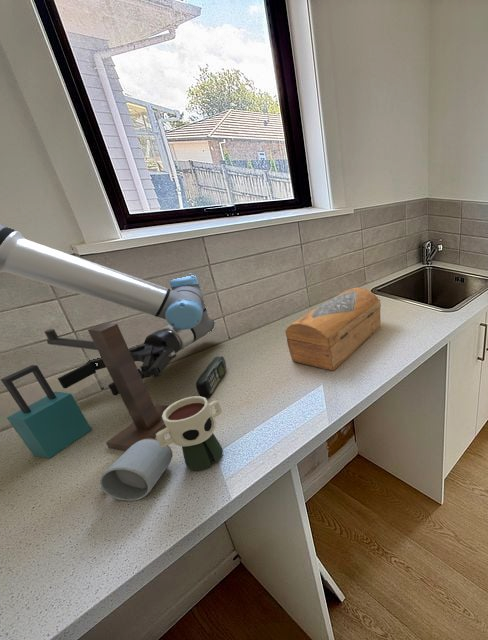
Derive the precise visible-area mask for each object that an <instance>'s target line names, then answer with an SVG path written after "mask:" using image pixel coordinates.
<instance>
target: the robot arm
mask: <svg viewBox="0 0 488 640" xmlns="http://www.w3.org/2000/svg"><path fill="white" fill-rule="evenodd" d="M13 231H14V232H13ZM3 241H4V242H3ZM1 273H8V274H11V275H15V276H17V277H21V278H25V279H27V280H31V281H35V282H38V283H41V284H45V285H48V286H52V287H55V288H58V289H62V290H64V291H68V292H72V293H75V294H78V295H81V296H86V297H89V298H92V299H96V300H99V301H102V302H105V303H109V304H113V305H116V306H120V307H123V308H126V309H128V310H132V311H137V312H140V313H144V314H147V315H150V316H153V317H156V318H160V319H163V320H166V322H167V325H168V326H167V325H166V326H163V327H162V328H160V329H161V330H160V329H158V330H156V331H153V332H152V333H150V334H148V335H147V336H145V339H144V342H143V343H141V344H138V345H136V346H135V347H133V348H130V349H129V351H130V353H131V356H132V358H133V360H134V362H135V363H136V362H141V363H142V365H140V366H139V367H140V368H137V369H138V371H139V373H140V376H141V378H142V380H144V379H149V378H151V377H154V378H158V377H160V376H161V375H162V374H163V372H164V371H165V369H166V368H167V366H168V365H169V364H170V362H171V361H172V360H174V359H175V358H176V357H177V353H178V352H179V351H182V350H184V349H185V348H187V347H188V346H189V345H191V344H193V343H195V342H197V341H198V340H200V339H202V338H203V337H205V336H207V335H208V334H207V333H208V332H210V331H211V332H213V331H212V329H213V328H214V325H215V322H214V320H212V319H210V318H209V317H208V314H207V310H206V308H205V306H206V303H205V304H204V302H205V299H204V300H203V298H204V296H202V295H203V291H202V289H200V288H201V283H200V282H199V280H197V279H198V277H197V276H196V275H195V274H194V275H195V276H194V275H191V276H186V277H182V278H177V279H173V280H171V281H170V285H171V288H172V290H170V289H168V288H167V287H164V286H162V285H160V284H156V283H153V282H150V281H148V280H146V279H142V278H139V277H136V276H133V275H131V274H128V273H124V272H122V271H119V270H116V269H114V268H110V267H108V266H104V265H102V264H99V263H96V262H93V261H91V260H87V259H85V258H82V257H78V256H76V255H73V254H70V253H67V252H65V251H61V250H58V249H56V248H53V247H50V246H47V245H44V244H41V243H39V242H35V241H33V240H31V239H27V238H25V236H24V237H23V235H22V234H21V232H19V231H17V230H14V229H11V228H8V227H6V226H3V225H1V224H0V274H1ZM198 282H199V283H198ZM199 285H200V286H199ZM201 291H202V292H201ZM169 324H170V325H169ZM211 332H210V333H211ZM206 334H207V335H206ZM95 363H98V366H96V364H95ZM102 369H107V368H106V366H105V364H104V362H103V360H102V358H97V359H93V360H89V361H88V362H87V363H86V364H85V363H84V364H83V365H81V366H79V367H77V368H75V369H73V370H71V371H69V372H67V373H66V374H63V375H61V376H59V377H58V378H57V380H58V382H59V384H60V385H61V387H62V388H63V389H68V388H70V387H72V386H73V385H76V384H77V383H79V382H81V381H83V380H85V379H86V378H88V377H90V376H92V375H95V374H96V373H97V371H98V370H102ZM108 388H109V390H110V392H111V393H112V396H118V395H120V394H119V392H118V390H117V388H116V386H115V384H114V382H113V381H112V382H111V383H109V384H108Z"/></svg>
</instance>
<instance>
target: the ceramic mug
mask: <svg viewBox="0 0 488 640" xmlns="http://www.w3.org/2000/svg"><path fill="white" fill-rule="evenodd" d="M173 456H174V455H173V450H172V449H171V446H170V445H168V446H166V447H161V446H160V445H159V443H158V441H157V438H154V439H143V440H140V441H138V442H136V443H135V444H134V445H132V446H131V447H130V448H129V449H127V450H126V451H125V450H124V452H123V453H122V455H120V456H119V457H118V458H117V459H116V460H115V461H114V462H113V463H112V464H110V466H109V467H108V468H107V469H105V471H104V472H103V473H102V474H101V476H100V477H99V486H98V488H99V490H101V491H102V492H103V493H105V494H106V495H108V496H109V497H111V498H114V499H117V500H119V501H127V502H128V501H129V502H132V501H138V500H141V499H143V498H145V497H146V496H147V495H148V494H150V492H151V491H152V489H153V488H154V486H155V485H156V484H157V482H158V481H159V479H160V477H162V475H163V474H164V472H165V471H166V470H167V468H168V467H169V466H170V463H171V462H172V459H173Z"/></svg>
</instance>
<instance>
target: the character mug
mask: <svg viewBox="0 0 488 640" xmlns="http://www.w3.org/2000/svg"><path fill="white" fill-rule="evenodd" d="M167 406H168V407H167V409H166V410H165V411H164V412H163V415H162V419H163V421H164V423H165V425H166V428H164V429H163V430H161V431H159V432H158V433H157V434H156V437H155V439H157V441H158V443H159V445H160V446H161V447H166V446H170V445H171V444H175V445H177V446H179V447H181V449H182V455H183V459H184V462H185V465H186V468H188V469H190V470H192V471H202V470H205V469H207V468H210V467H211V466H212V463H211V461H212V460H213V459H214V462H215V463H217V462H218V461H219V460H220V459H221V458H222V456H223V452H224V449H223V447H222V445H221V443H220V442H219V440H218V438H217V437H216V435H215V434H214V431H215V430H216V425H217V421H216V419H215V418H216V417H218V416H220V415H221V414H222V407H221V404H220V401H219V400H213V401H211V402H209V401H208V399H207V398H204V397H201V396H199V395H197V396H196V395H194V396H188V397H184V398H182V399H179V400H177V401H175V402H173V403H171V404H170V405H167ZM212 408H214V409H215V411H212ZM167 434H169V438H167V439H165V437H164V436H165V435H167Z"/></svg>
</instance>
